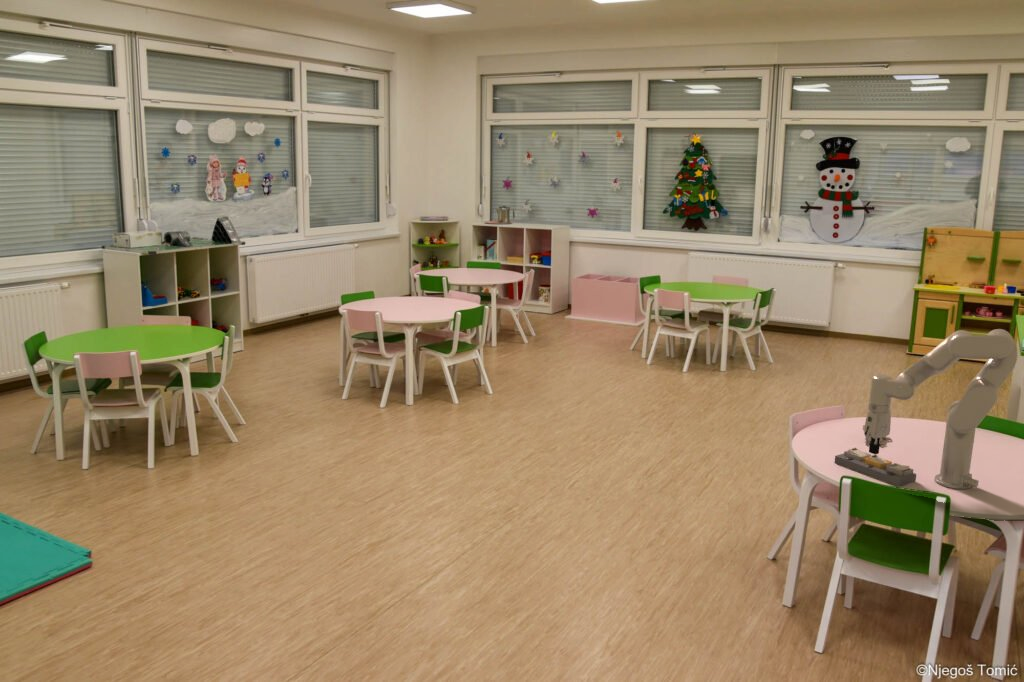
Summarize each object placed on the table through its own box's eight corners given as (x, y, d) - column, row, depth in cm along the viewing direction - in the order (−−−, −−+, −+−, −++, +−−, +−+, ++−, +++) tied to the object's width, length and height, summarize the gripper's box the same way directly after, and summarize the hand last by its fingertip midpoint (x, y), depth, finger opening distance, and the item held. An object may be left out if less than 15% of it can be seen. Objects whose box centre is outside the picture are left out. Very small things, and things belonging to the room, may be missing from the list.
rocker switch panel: (915, 481, 312) (916, 470, 311) (898, 487, 307) (900, 475, 306) (850, 458, 335) (851, 447, 334) (834, 462, 330) (835, 452, 329)
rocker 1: (866, 456, 328) (867, 454, 327) (859, 458, 326) (860, 456, 325) (854, 449, 332) (855, 447, 331) (848, 451, 330) (849, 448, 329)
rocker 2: (909, 468, 312) (909, 465, 312) (903, 470, 310) (902, 467, 310) (896, 467, 317) (895, 464, 317) (889, 469, 315) (889, 466, 315)
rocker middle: (886, 464, 320) (887, 461, 320) (880, 466, 318) (881, 463, 318) (874, 456, 324) (875, 454, 324) (868, 458, 322) (869, 455, 322)
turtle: (869, 442, 364) (862, 420, 363) (892, 438, 360) (886, 416, 359) (868, 452, 350) (861, 430, 349) (892, 448, 346) (885, 425, 345)
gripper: (875, 413, 311) (869, 459, 315) (900, 407, 319) (894, 452, 323) (858, 407, 317) (852, 453, 322) (882, 402, 325) (877, 446, 329)
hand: (873, 453), depth 322 cm, fingers closed
